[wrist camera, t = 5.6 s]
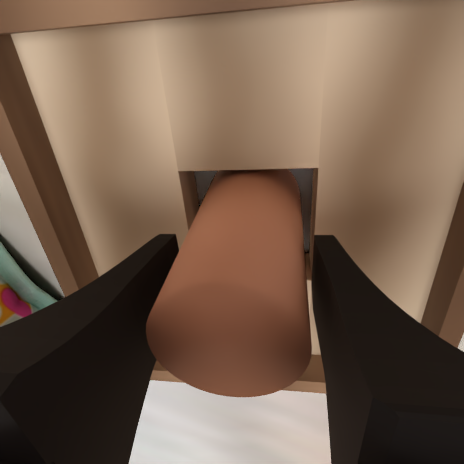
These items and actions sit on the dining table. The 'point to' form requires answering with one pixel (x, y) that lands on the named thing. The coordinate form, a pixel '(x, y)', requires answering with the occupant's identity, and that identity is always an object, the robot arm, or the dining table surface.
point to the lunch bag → (18, 291)
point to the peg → (238, 290)
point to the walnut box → (243, 131)
